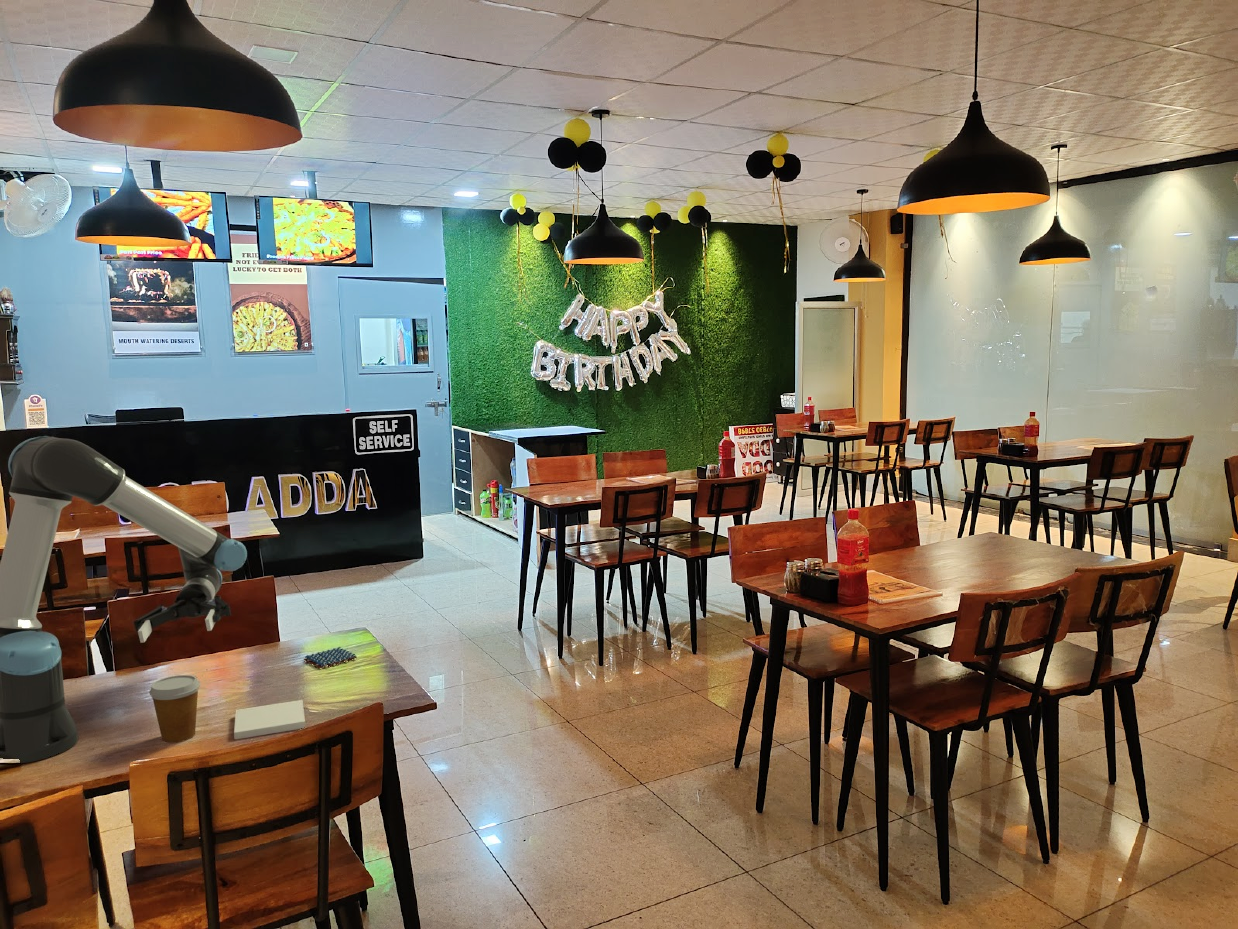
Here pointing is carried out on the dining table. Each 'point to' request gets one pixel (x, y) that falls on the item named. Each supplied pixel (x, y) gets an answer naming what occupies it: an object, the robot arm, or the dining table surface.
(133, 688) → the dining table surface
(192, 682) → the disposable coffee cup
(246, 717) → the pad
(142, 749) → the dining table surface
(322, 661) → the woven mat
